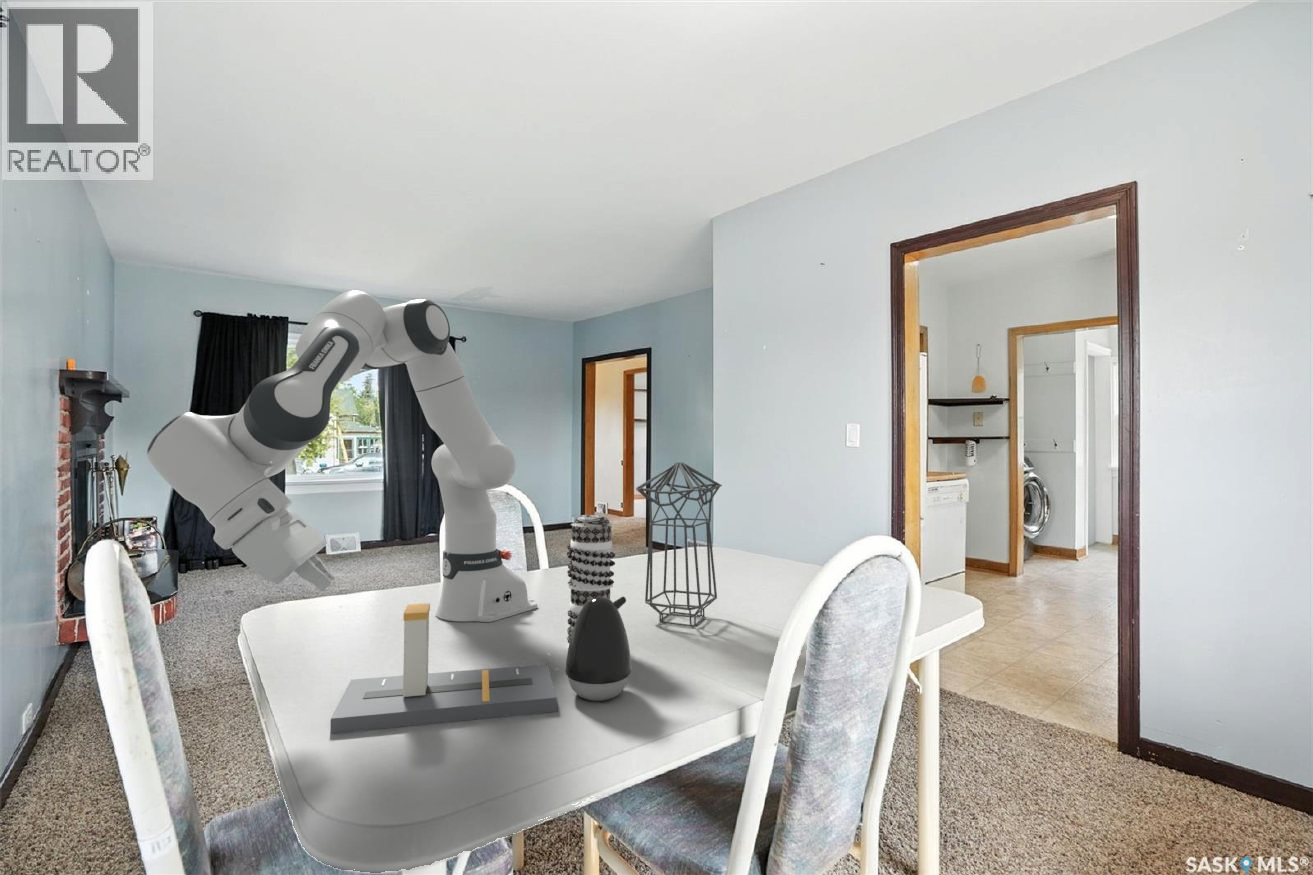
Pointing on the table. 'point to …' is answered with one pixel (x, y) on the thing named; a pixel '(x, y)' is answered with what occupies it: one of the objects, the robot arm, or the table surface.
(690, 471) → the geometric lantern
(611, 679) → the pump dispenser
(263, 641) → the table surface
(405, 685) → the fader tab
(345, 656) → the table surface
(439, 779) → the table surface
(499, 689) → the console board
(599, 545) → the decorative candle
